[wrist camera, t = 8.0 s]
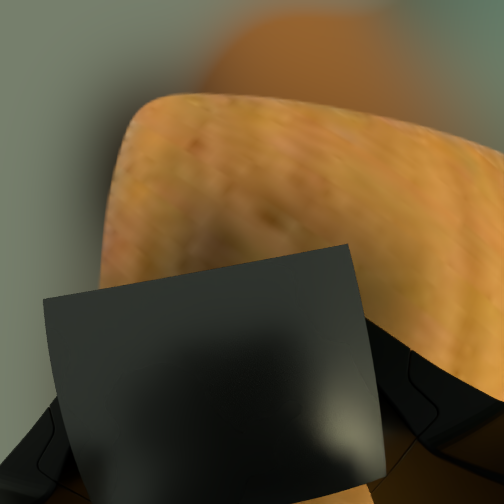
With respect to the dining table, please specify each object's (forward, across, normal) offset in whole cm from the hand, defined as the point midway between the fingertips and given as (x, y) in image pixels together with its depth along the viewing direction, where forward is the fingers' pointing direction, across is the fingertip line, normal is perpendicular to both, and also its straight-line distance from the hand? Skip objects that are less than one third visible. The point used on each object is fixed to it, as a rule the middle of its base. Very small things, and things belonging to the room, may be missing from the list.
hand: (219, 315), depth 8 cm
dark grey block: (+4, 0, +6) cm, 7 cm away
